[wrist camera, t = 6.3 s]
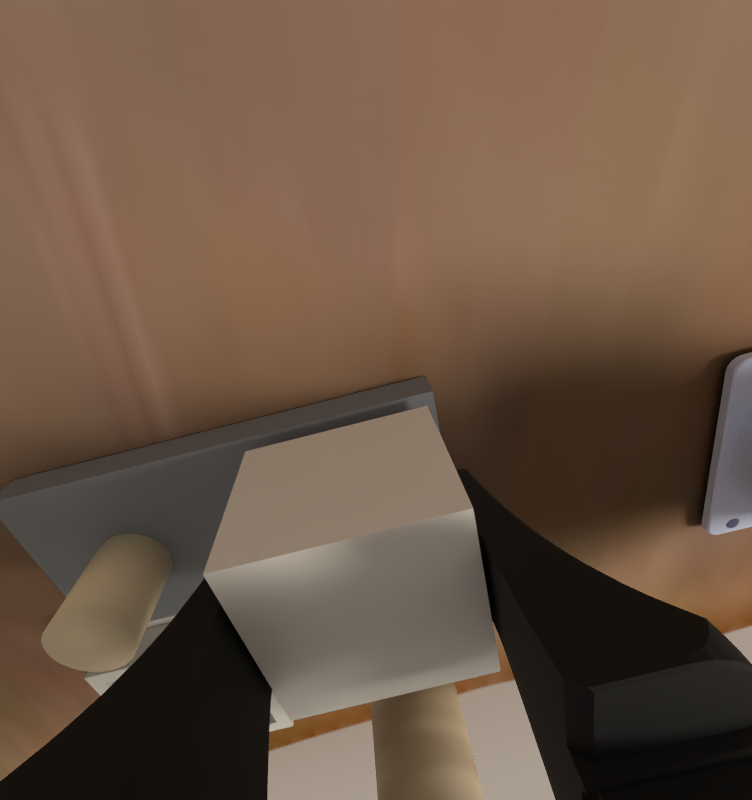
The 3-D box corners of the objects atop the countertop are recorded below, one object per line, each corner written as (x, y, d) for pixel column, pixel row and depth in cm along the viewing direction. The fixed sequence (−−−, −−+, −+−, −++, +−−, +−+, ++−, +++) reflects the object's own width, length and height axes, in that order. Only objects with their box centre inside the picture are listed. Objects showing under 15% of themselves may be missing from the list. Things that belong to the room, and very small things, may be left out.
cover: (427, 405, 12) (473, 507, 8) (454, 541, 14) (500, 670, 10) (245, 451, 12) (202, 574, 8) (302, 578, 15) (290, 720, 11)
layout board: (424, 375, 14) (459, 444, 10) (474, 626, 19) (508, 731, 16) (13, 479, 14) (-107, 585, 10) (183, 696, 20) (147, 815, 16)
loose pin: (432, 591, 16) (480, 786, 11) (444, 639, 18) (492, 833, 12) (357, 610, 16) (368, 812, 11) (374, 656, 18) (393, 856, 12)
